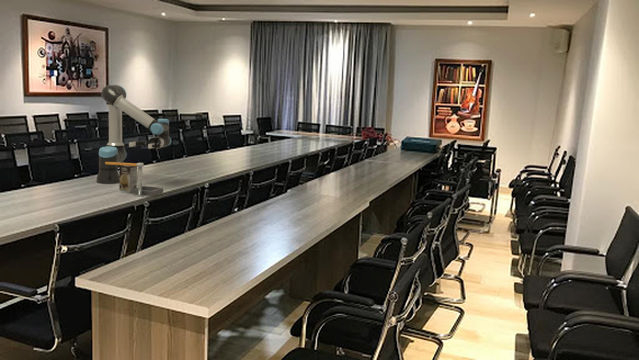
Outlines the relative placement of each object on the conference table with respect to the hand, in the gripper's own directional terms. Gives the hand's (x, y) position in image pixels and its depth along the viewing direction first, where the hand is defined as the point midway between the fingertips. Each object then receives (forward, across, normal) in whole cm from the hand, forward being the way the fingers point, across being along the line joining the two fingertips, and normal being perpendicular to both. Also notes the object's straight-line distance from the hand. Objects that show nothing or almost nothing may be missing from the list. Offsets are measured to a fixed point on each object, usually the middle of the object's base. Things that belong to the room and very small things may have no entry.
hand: (139, 145), depth 352 cm
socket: (+11, -12, -28) cm, 32 cm away
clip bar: (+22, -4, -10) cm, 24 cm away
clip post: (+20, -12, -28) cm, 36 cm away
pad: (+13, 0, -28) cm, 31 cm away
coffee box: (+13, 0, -28) cm, 30 cm away
